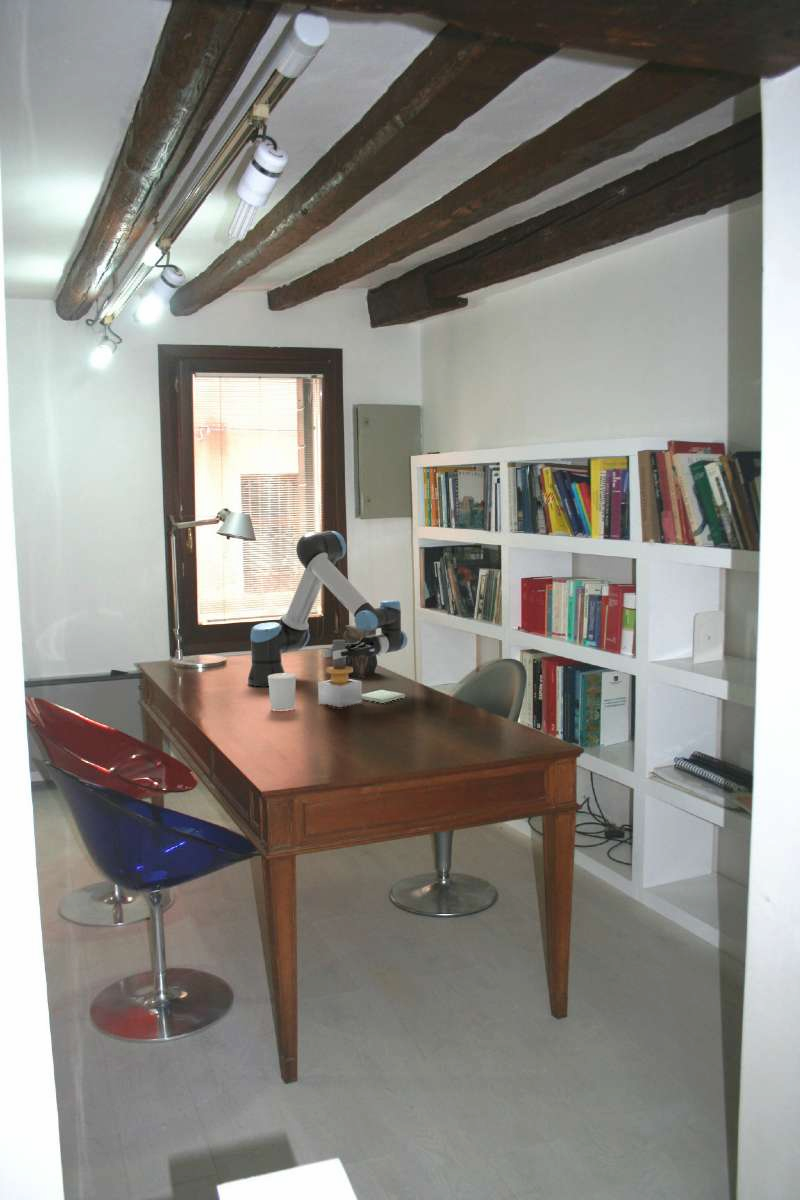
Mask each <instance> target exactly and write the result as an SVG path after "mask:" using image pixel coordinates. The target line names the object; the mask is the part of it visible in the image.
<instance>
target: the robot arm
mask: <svg viewBox="0 0 800 1200" xmlns="http://www.w3.org/2000/svg"><path fill="white" fill-rule="evenodd" d="M295 549H296V551H295V553H296V556H297V558H298V560H299V563H301V565H302V566H303V567H304V568H305V569H304V571H303V573H302V576H301V578H300V581H299V583H298V584H297V585H298V586H297V588H296V591H295V592H294V596H293V597H292V600H291V603H290V604H289V607H288V609H287V612H286V613H284V614H282V615H281V616H280V620H279V622H275V621H272V622H270V621H269V622H262V623H257V624H255V625H254V626H252V627H251V630H250V637H249V639H250V652H251V653H250V655H251V666H250V669H249V673H248V677H247V685H248V684H250V685H249V686H251V685H253V686H252V687H256V686H261V687H260V688H266V687H267V686H269V683H268V676H269V675H271V674H277V673H286V672H285V669H284V667H283V664H282V654H287V653H291V652H297V651H299V650H301V649H303V648H304V647H305V646H307V644H308V642H309V640H310V635H311V634H310V630H309V629H310V628H309V627H310V624H309V623H308V619H309V618H310V614H311V613H312V610H313V608H314V605H315V603H316V602H317V601H316V600H317V598H318V595H319V593H320V591H321V588H322V586H323V585H324V586H325V587H326V588H327V589H328V590H329V591H330V592H331V593H332V595H334V597H335V598H336V599H337V600H338V601H339V602H340V603H341V604H342V605H343V606H344V607H345V608H346V609H347V611H349V613H350V614H351V616H353V617H354V624H355V626H356V627H357V628H358V629H359V630H361V631H372V630H375V629H376V630H377V629H380V633H376V635H371V636H366V637H363V638H362V639H361V641H360V642H356V643H350V642H348V643H346V644H345V649H342V650H337V651H333V645H332V646H331V648H330V647H329V648H325V649H322V658H328V657H329V658H330V657H332V660H333V659H338V658H343V657H347V656H349V657H350V656H353V657H356V656H361V655H365V656H367V657H370V656H375V655H376V656H378V657H380V656H381V655H383V654H386V653H392V652H393V653H394V652H398V651H401V650H404V649H405V648H406V646H407V644H408V637H407V634H406V633H405V632H404V630H402V618H401V617H402V609H401V602H400V600H396V599H385V600H381V602H380V605H379V607H376V608H375V607H374V606H373V605H372V604H370V602H369V601H368V600H367V599H366V598H365V597H364V596H363V595H362V593H360V592H359V590H357V588H356V587H355V586H354V585H353V584H352V583H351V582H350V581H349V580H348V579H347V578H346V576H345V575H344V574H343V573H342V572H341V571H340V570H339V569H338V568H337V567H336V566H335V565H336V563H337V561H340V560H341V559H343V558H344V557H345V556H346V552H347V543H346V542H345V539H344V537H343V535H342V534H341V533H339V532H337V531H335V530H325V531H317V532H307V533H305V534H303V535H302V536H300V538H299V540H298V541H297V544H296V548H295ZM267 688H268V687H267Z"/></svg>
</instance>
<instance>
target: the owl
mask: <svg viewBox="0 0 800 1200" xmlns="http://www.w3.org/2000/svg"><path fill="white" fill-rule="evenodd" d="M344 629H345V631H344V633H343V635H342V639H341V640H345V644H346V643H348V642H350V643H356V642H360V641H361V639H362V638H363V637H366V636H371V635H376V634H377V629H375V630H372V631H361V630H359V629H358V628H357V627H356V625H350V624H348V625H345V626H344ZM377 658H378V657H377V655H375V656H370V657H367V656H365V655H361V656H356V657H353V656H350V657H349V656H347V657H346V666H350V667H353V672H352V673H348V674H349V675H348V676H350V675H355V676H360V677H359V678H362V677H363V676H365V677H367V676H366V675H368V676H371V675H373V674H372V673H374V674H375V673H376V669H377V666H378V659H377ZM370 674H371V675H370ZM355 676H354V677H355ZM363 678H364V677H363Z"/></svg>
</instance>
